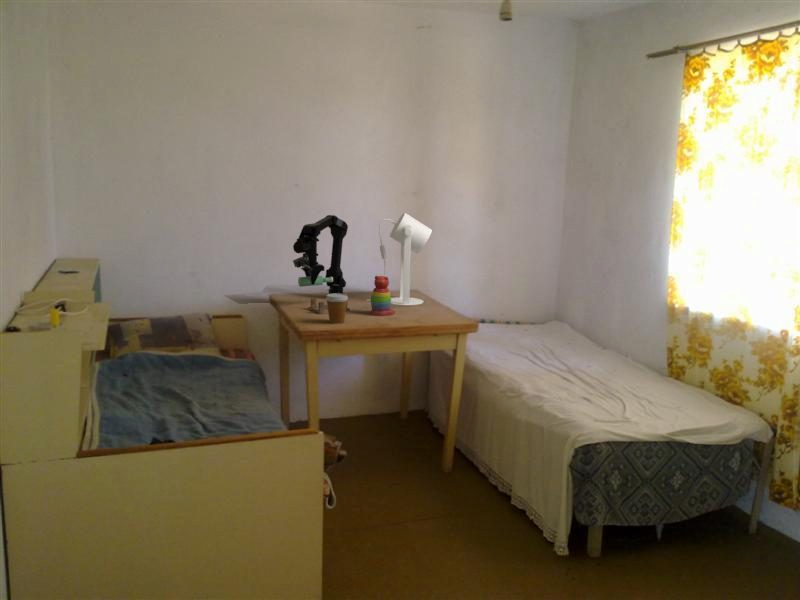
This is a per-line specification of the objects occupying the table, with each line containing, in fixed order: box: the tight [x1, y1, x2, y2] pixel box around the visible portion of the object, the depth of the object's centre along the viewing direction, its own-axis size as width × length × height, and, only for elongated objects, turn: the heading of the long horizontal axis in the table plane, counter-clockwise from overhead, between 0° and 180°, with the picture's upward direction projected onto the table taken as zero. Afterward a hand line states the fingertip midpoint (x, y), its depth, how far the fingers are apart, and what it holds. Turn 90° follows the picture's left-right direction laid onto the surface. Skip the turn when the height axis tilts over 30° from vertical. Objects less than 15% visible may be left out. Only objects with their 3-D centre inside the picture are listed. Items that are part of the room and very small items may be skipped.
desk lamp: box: [366, 212, 433, 306], centre depth 327 cm, size 21×32×45 cm, turn 95°
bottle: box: [297, 275, 333, 287], centre depth 316 cm, size 17×4×4 cm, turn 121°
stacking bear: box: [370, 275, 396, 317], centre depth 301 cm, size 11×10×18 cm
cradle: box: [307, 298, 351, 315], centre depth 308 cm, size 16×12×5 cm
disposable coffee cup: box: [325, 293, 349, 325], centre depth 283 cm, size 10×10×12 cm
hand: (310, 283), depth 315 cm, fingers closed on bottle, 4 cm apart
